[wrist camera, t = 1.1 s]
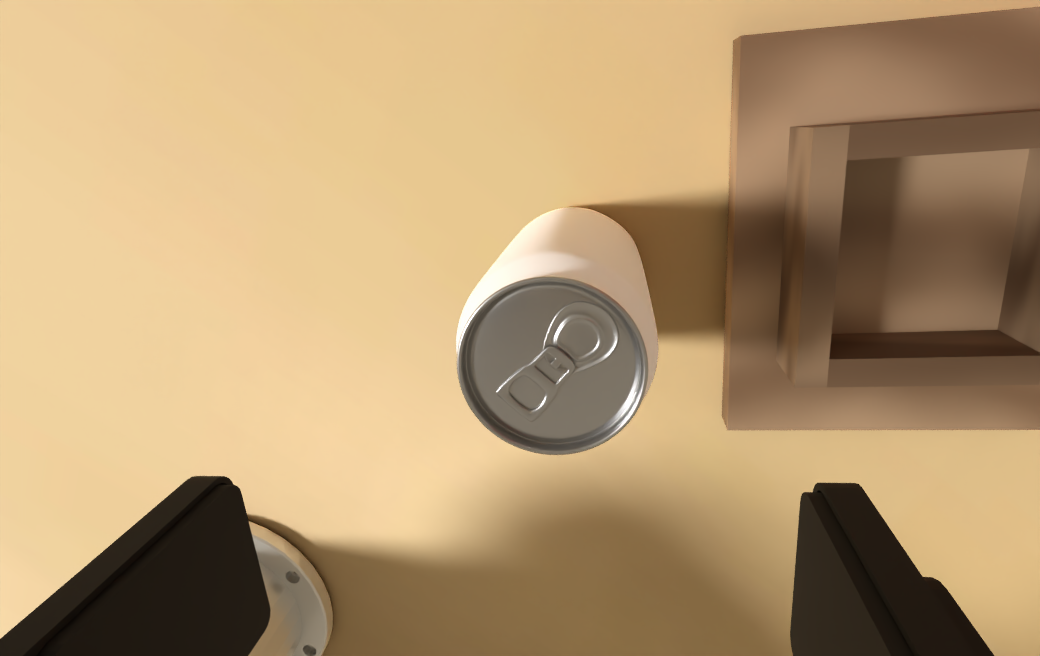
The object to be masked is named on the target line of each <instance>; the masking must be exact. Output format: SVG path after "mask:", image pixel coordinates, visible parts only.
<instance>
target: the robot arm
mask: <svg viewBox="0 0 1040 656" xmlns="http://www.w3.org/2000/svg"><path fill="white" fill-rule="evenodd" d="M332 628H333V611H332V606H331V601H330V597H329V594H328V592H327V590H326V587H325V585H324V583H323V581H322V579H321V578H320V576H319V575H318V573H317V572H316V570H315V568H314V567H313V565H312V564H311V563H310V562H309V561H308V560H307V559H306V558H305V557H304V556H303V555H302V553H301V552H300V551H299V550H297V549H296V548H295V547H294V546H292V545H291V544H290V543H289V542H287V541H286V540H285V539H284V538H282V537H280V536H279V535H277V534H275V533H274V532H272V531H270V530H268V529H267V528H264V527H262V526H259V525H257V524H255V523H252V522H250V521H248V517H247V513H246V509H245V506H244V502H243V498H242V494H241V491H240V489H239V488H238V487H237V486H235V485H233V483H232V481H231V480H230V479H229V478H227V477H225V476H195V477H191V478H190V479H188V480H186V481H185V482H184V483H183V484H182V485H181V486H179V487H178V488H177V489H176V490H175V491H174V492H172V493H171V494H170V495H169V496H168V497H167V498H165V499H164V500H163V501H162V502H161V503H159V504H158V505H157V506H156V507H155V508H154V509H152V510H151V511H150V512H149V513H148V514H147V515H145V516H144V517H143V518H142V519H141V520H139V521H138V522H137V523H136V524H135V525H134V526H132V527H131V528H130V529H129V530H128V531H127V532H125V533H124V534H123V535H122V536H121V537H120V538H118V539H117V540H116V541H115V542H114V543H112V544H111V545H110V546H109V547H108V548H107V549H105V550H104V551H103V552H102V553H101V554H100V555H98V556H97V557H96V558H95V559H94V560H92V561H91V562H90V563H89V564H88V565H87V566H85V567H84V568H83V569H82V570H81V571H80V572H78V573H77V574H76V575H75V576H74V577H73V578H71V579H70V580H69V581H68V582H67V583H65V584H64V585H63V586H62V587H61V588H60V589H58V590H57V591H56V592H55V593H54V594H53V595H51V596H50V597H49V598H48V599H47V600H46V601H44V602H43V603H42V604H41V605H40V606H38V607H37V608H36V609H35V610H34V611H33V612H31V613H30V614H29V615H28V616H27V617H26V618H24V619H23V620H22V621H21V622H20V623H18V624H17V625H16V626H15V627H14V628H13V629H11V630H10V631H9V632H8V633H7V634H6V635H4V636H3V637H2V638H1V639H0V656H322V654H323V652H324V650H325V648H326V646H327V644H328V642H329V639H330V636H331V632H332ZM790 637H791V647H792V652H793V656H994V655H993V653H992V652H991V650H990V649H989V648H988V646H987V645H986V643H985V642H984V641H983V639H982V638H981V636H980V635H979V634H978V632H977V631H976V629H975V628H974V627H973V625H972V624H971V622H970V621H969V620H968V618H967V617H966V615H965V614H964V613H963V611H962V610H961V608H960V607H959V606H958V604H957V603H956V601H955V600H954V599H953V597H952V596H951V594H950V593H949V592H948V590H947V589H946V588H945V587H944V586H943V585H942V583H941V582H940V581H938V580H936V579H934V578H932V577H922V575H921V574H920V572H919V571H918V569H917V568H916V567H915V565H914V564H913V562H912V561H911V559H910V558H909V556H908V555H907V553H906V552H905V550H904V549H903V547H902V546H901V544H900V543H899V541H898V540H897V539H896V537H895V536H894V534H893V533H892V531H891V530H890V528H889V527H888V525H887V524H886V522H885V521H884V519H883V518H882V516H881V515H880V514H879V512H878V511H877V509H876V508H875V506H874V505H873V503H872V502H871V500H870V499H869V497H868V496H867V494H866V493H865V491H864V490H863V488H862V487H861V486H860V485H859V484H856V483H817V484H816V485H815V487H814V489H813V492H804V493H803V494H802V496H801V501H800V513H799V526H798V539H797V552H796V565H795V578H794V591H793V604H792V617H791V630H790Z"/></svg>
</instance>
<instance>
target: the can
mask: <svg viewBox="0 0 1040 656" xmlns="http://www.w3.org/2000/svg"><path fill="white" fill-rule="evenodd" d="M456 351H457V372H458V379H459V383H460V387H461V390H462V393H463V395H464V397H465V399H466V402H467V403H468V405H469V407H470V409H471V410H472V412H473V413H474V414H475V416H476V417H477V418H478V419H479V421H480V422H481V423H482V424H483V425H484V426H485V427H486V428H487V429H488V430H490V431H491V432H492V433H493V434H495V435H496V436H497V437H499V438H500V439H502V440H504V441H505V442H507V443H509V444H511V445H513V446H516V447H518V448H521V449H523V450H527V451H530V452H534V453H539V454H547V455H565V454H573V453H578V452H582V451H586V450H589V449H592V448H594V447H596V446H599V445H601V444H603V443H604V442H606V441H608V440H609V439H611V438H612V437H614V436H615V435H616V434H618V433H619V432H620V431H621V430H622V429H623V428H624V427H625V426H626V425H627V424H628V423H629V422H630V420H631V419H632V418H633V416H634V415H635V413H636V412H637V410H638V408H639V406H640V404H641V402H642V400H643V399H644V397H645V395H646V394H647V392H648V390H649V388H650V386H651V383H652V381H653V378H654V375H655V371H656V366H657V359H658V335H657V328H656V323H655V317H654V313H653V308H652V303H651V299H650V294H649V290H648V286H647V281H646V277H645V273H644V269H643V265H642V261H641V258H640V255H639V252H638V249H637V247H636V244H635V242H634V240H633V239H632V237H631V236H630V235H629V233H628V232H627V231H626V230H625V229H624V228H623V227H622V226H621V225H619V224H618V223H617V222H615V221H614V220H612V219H611V218H609V217H607V216H606V215H604V214H602V213H599V212H597V211H594V210H591V209H587V208H580V207H567V208H560V209H556V210H552V211H549V212H547V213H545V214H542V215H541V216H539V217H537V218H535V219H534V220H532V221H531V222H530V223H529V224H527V225H526V226H525V227H524V228H523V229H522V230H521V231H520V232H519V234H518V235H517V236H516V237H515V238H514V239H513V241H512V242H511V243H510V244H509V245H508V247H507V248H506V249H505V250H504V251H503V253H502V254H501V255H500V256H499V258H498V259H497V260H496V261H495V263H494V264H493V265H492V266H491V268H490V269H489V270H488V271H487V273H486V274H485V275H484V276H483V278H482V279H481V280H480V282H479V283H478V284H477V286H476V287H475V289H474V290H473V292H472V293H471V295H470V297H469V298H468V300H467V302H466V304H465V306H464V309H463V311H462V314H461V317H460V320H459V324H458V329H457V337H456Z"/></svg>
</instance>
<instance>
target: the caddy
mask: <svg viewBox="0 0 1040 656" xmlns="http://www.w3.org/2000/svg"><path fill="white" fill-rule="evenodd" d="M722 417H723V420H724V422H725V425H726V428H727V430H1040V7H1033V8H1023V9H1012V10H1002V11H992V12H981V13H971V14H961V15H950V16H940V17H930V18H919V19H909V20H899V21H889V22H878V23H868V24H858V25H847V26H837V27H827V28H816V29H806V30H796V31H786V32H775V33H765V34H755V35H744V36H740V37H738V38H737V39H735V40H734V41H733V73H732V106H731V138H730V171H729V204H728V236H727V269H726V302H725V334H724V367H723V400H722Z"/></svg>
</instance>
